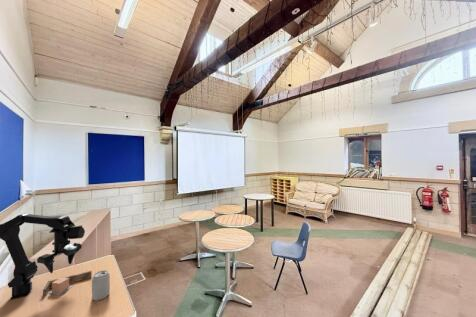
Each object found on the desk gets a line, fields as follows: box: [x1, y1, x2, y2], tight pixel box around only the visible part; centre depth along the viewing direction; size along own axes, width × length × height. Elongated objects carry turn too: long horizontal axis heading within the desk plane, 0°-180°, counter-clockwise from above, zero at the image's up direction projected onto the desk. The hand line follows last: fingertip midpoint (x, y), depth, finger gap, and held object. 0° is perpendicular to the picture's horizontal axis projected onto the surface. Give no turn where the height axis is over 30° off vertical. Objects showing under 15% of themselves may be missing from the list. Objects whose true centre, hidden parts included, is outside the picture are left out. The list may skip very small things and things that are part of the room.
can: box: [91, 269, 111, 302], centre depth 102 cm, size 8×8×12 cm
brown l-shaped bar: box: [42, 270, 93, 297], centre depth 112 cm, size 20×9×4 cm, turn 122°
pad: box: [48, 285, 73, 296], centre depth 108 cm, size 7×7×1 cm
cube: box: [51, 277, 70, 293], centre depth 108 cm, size 5×5×5 cm
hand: (61, 268), depth 108 cm, fingers open, 9 cm apart
